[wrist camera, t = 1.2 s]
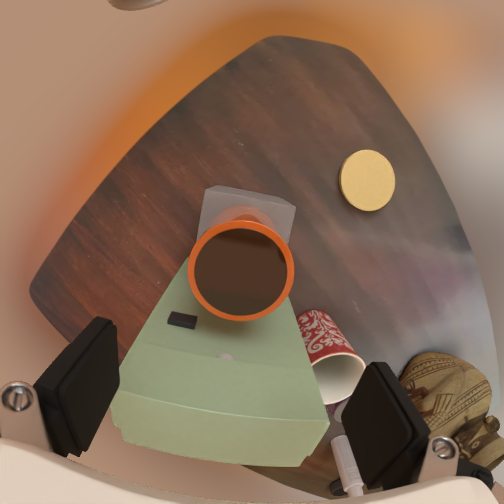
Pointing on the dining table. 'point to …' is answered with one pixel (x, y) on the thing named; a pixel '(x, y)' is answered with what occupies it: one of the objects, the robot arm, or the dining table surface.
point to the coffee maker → (221, 371)
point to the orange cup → (241, 265)
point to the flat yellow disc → (366, 180)
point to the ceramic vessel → (455, 405)
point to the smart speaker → (337, 488)
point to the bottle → (347, 466)
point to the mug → (330, 356)
